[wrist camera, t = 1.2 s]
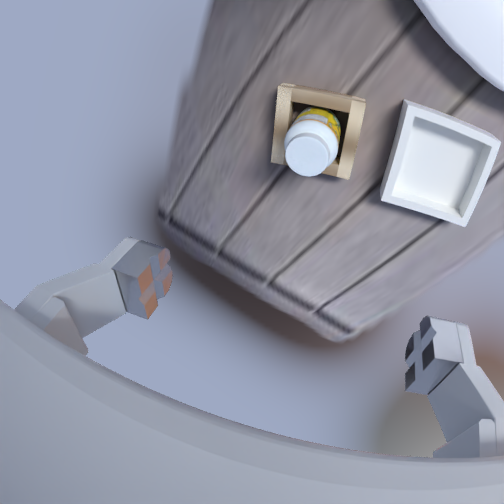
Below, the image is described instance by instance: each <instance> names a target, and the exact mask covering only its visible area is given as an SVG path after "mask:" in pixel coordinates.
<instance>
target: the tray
mask: <svg viewBox="0 0 504 504" xmlns="http://www.w3.org/2000/svg"><path fill="white" fill-rule="evenodd" d="M500 144H501V142H500V141H499V140H498V139H497V138H496V137H495V136H494V135H493V134H491V133H489V132H487V131H485V130H483V129H480V128H478V127H476V126H474V125H472V124H469V123H467V122H465V121H462V120H460V119H457V118H455V117H452V116H450V115H447V114H445V113H442V112H440V111H437V110H434V109H432V108H429V107H426V106H423V105H420V104H417V103H414V102H411V101H408V100H405V99H404V101H403V105H402V109H401V114H400V118H399V122H398V126H397V130H396V134H395V137H394V141H393V145H392V149H391V152H390V156H389V159H388V163H387V166H386V170H385V173H384V177H383V180H382V183H381V186H380V196H381V201H384V202H388V203H391V204H395V205H398V206H401V207H405V208H408V209H411V210H415V211H418V212H421V213H424V214H428V215H431V216H434V217H437V218H440V219H443V220H446V221H449V222H452V223H455V224H458V225H461V226H464V227H466V225H467V223H468V221H469V219H470V217H471V214H472V212H473V210H474V208H475V206H476V204H477V202H478V199H479V197H480V195H481V193H482V190H483V188H484V186H485V183H486V181H487V179H488V176H489V174H490V171H491V169H492V166H493V163H494V161H495V158H496V155H497V153H498V150H499V147H500Z"/></svg>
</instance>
